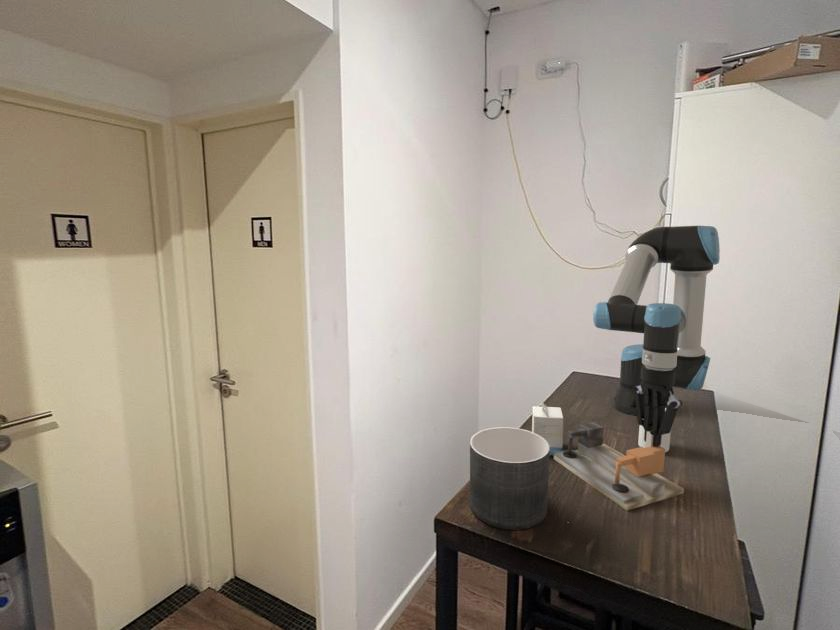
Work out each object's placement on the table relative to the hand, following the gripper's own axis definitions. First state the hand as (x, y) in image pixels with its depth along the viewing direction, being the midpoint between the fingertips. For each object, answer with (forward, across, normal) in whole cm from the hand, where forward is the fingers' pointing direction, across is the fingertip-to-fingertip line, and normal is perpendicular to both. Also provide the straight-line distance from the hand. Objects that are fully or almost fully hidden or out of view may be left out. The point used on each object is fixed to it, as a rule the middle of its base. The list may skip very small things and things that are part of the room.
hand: (651, 455), depth 113 cm
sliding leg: (+4, +2, -6) cm, 7 cm away
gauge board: (+6, -5, -7) cm, 11 cm away
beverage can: (+7, -12, +15) cm, 20 cm away
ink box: (+7, -24, -14) cm, 28 cm away
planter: (+7, -4, -40) cm, 41 cm away
